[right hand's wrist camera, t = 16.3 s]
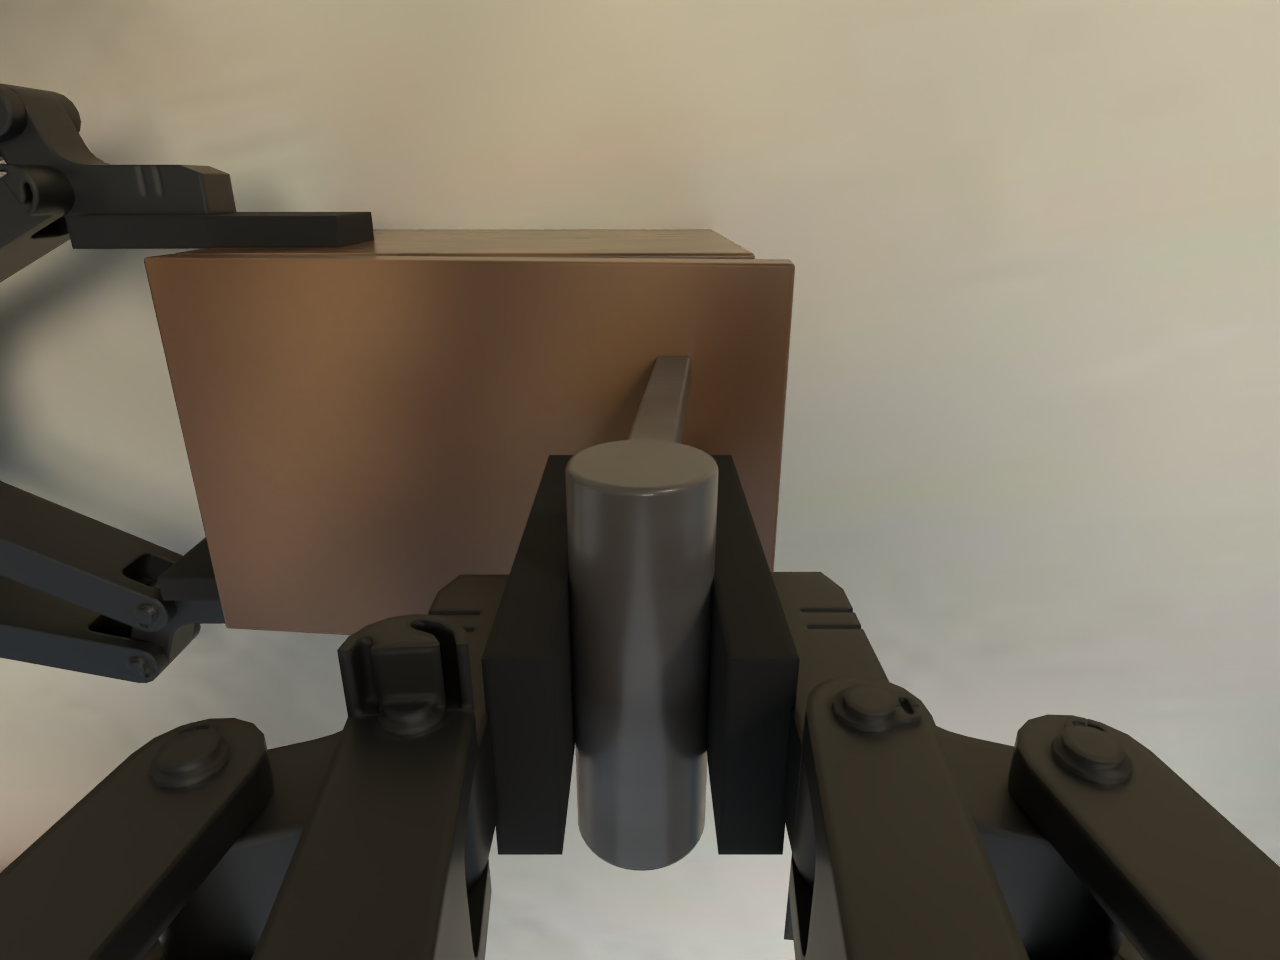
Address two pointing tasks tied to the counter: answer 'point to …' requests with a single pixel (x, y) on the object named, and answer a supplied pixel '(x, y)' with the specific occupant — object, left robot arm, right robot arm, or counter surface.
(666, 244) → the brown hollow box
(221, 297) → the lid
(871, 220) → the counter surface
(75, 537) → the left robot arm
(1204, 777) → the counter surface
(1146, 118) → the counter surface
